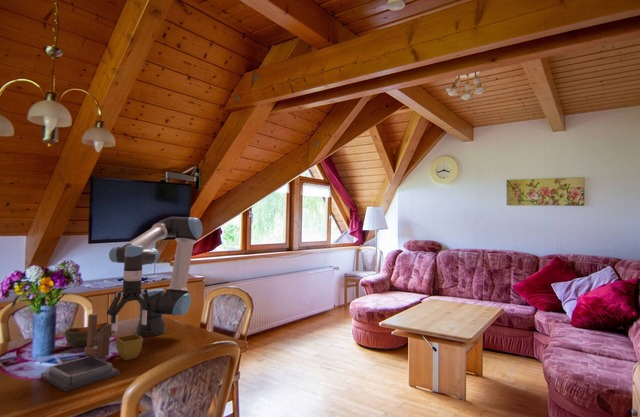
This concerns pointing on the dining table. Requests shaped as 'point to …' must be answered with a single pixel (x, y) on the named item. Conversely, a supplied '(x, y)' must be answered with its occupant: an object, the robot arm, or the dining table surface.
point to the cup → (82, 335)
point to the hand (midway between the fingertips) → (129, 327)
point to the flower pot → (129, 346)
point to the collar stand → (79, 372)
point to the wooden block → (97, 338)
